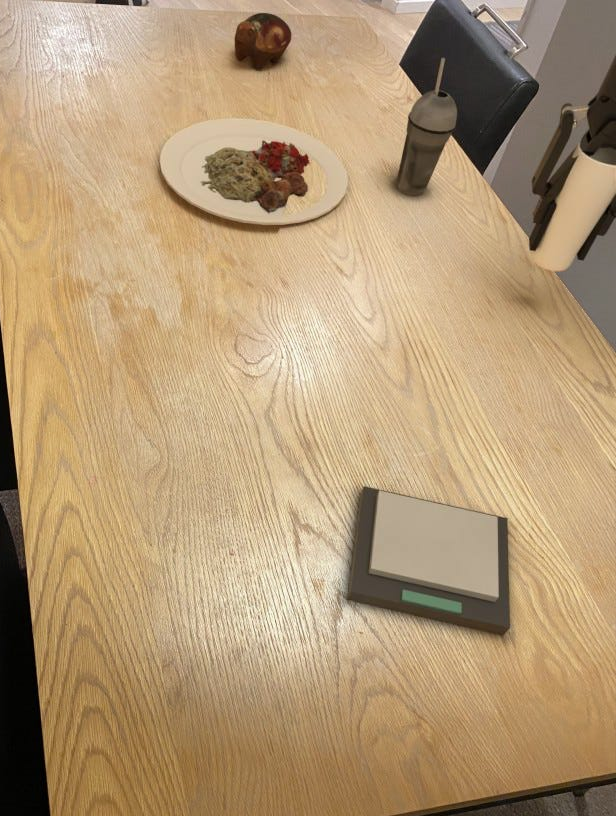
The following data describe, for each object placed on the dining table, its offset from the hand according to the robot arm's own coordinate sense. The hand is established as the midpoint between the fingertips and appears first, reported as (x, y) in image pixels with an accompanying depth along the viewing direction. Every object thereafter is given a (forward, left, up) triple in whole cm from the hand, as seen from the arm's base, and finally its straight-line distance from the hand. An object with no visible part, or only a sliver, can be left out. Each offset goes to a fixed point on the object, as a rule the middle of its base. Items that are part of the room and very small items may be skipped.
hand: (555, 249), depth 101 cm
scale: (+12, +49, -10) cm, 51 cm away
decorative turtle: (+49, -60, -10) cm, 78 cm away
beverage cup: (+18, -24, -10) cm, 32 cm away
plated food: (+43, -19, -10) cm, 48 cm away
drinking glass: (0, 0, -2) cm, 2 cm away
